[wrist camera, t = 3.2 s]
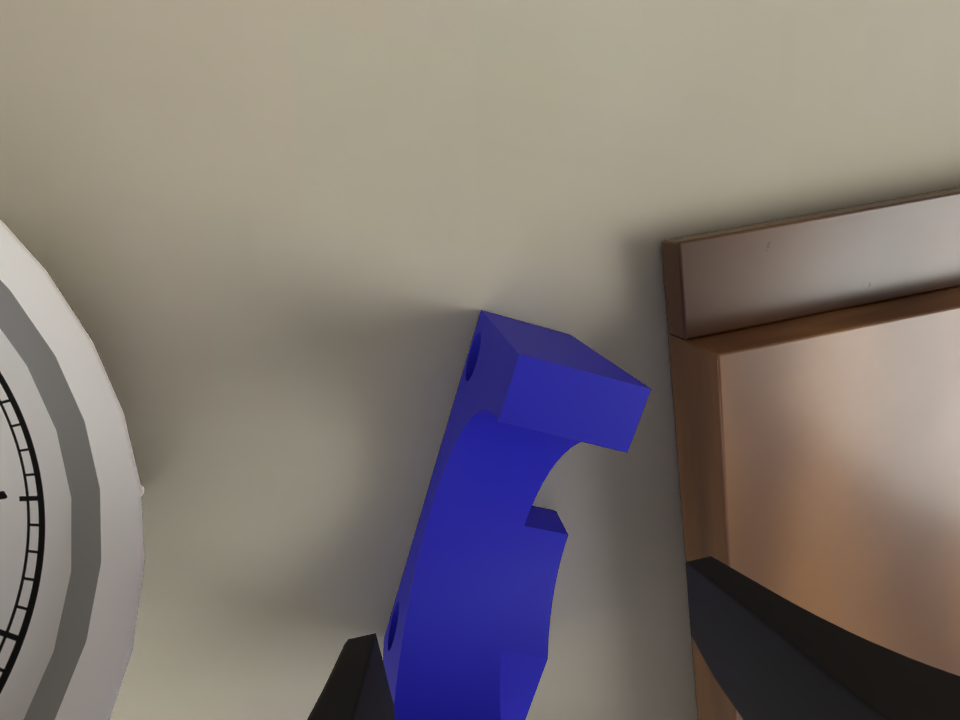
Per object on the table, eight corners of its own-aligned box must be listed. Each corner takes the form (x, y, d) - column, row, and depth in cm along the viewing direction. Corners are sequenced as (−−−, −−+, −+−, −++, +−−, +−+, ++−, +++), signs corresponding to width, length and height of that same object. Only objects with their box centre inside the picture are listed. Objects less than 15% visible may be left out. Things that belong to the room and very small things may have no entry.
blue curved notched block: (505, 656, 20) (544, 830, 14) (384, 637, 19) (374, 814, 14) (613, 346, 18) (712, 405, 12) (480, 310, 17) (519, 354, 11)
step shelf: (703, 794, 23) (777, 936, 19) (660, 240, 17) (753, 246, 13) (972, 721, 24) (1106, 838, 20) (1018, 176, 18) (1225, 160, 14)
